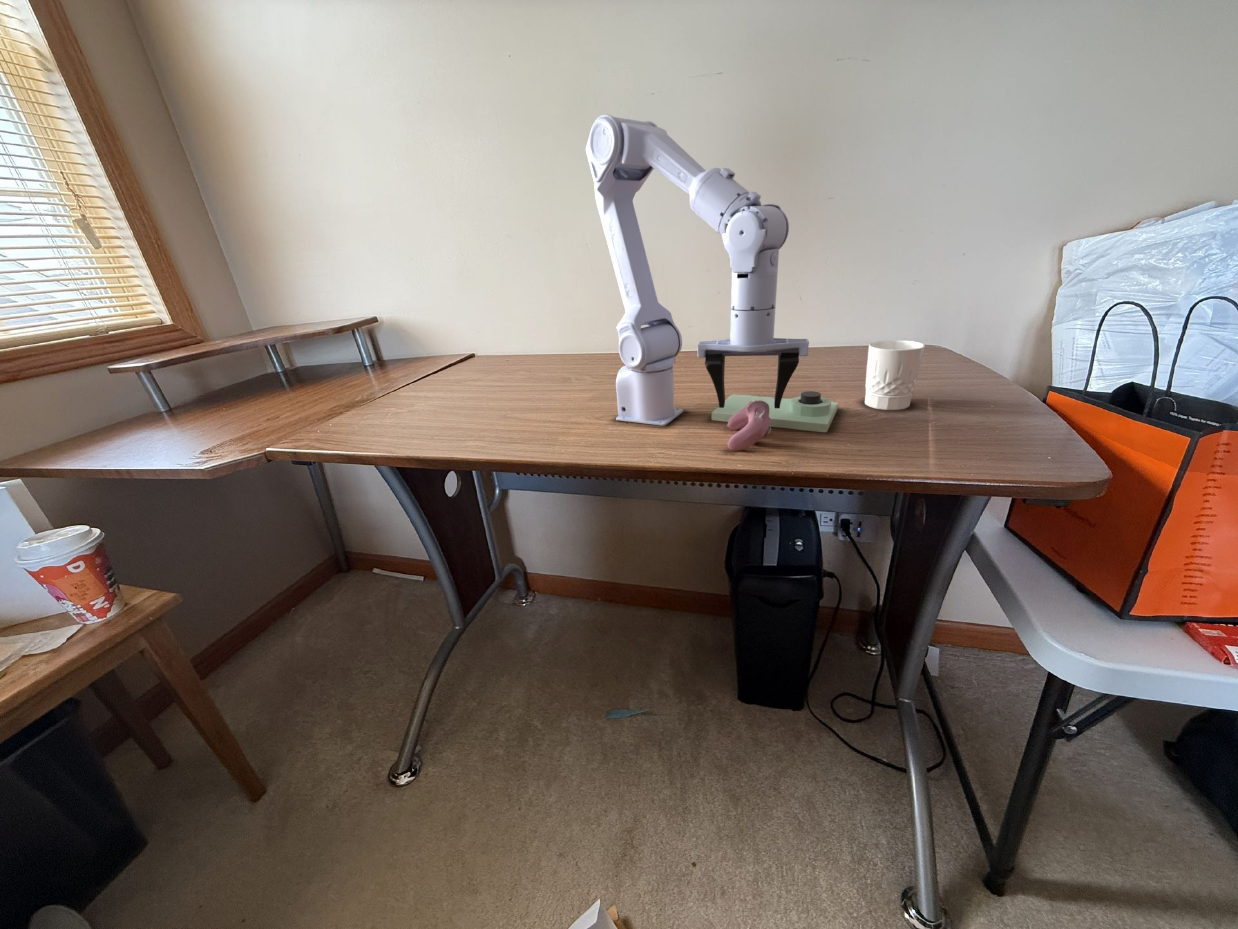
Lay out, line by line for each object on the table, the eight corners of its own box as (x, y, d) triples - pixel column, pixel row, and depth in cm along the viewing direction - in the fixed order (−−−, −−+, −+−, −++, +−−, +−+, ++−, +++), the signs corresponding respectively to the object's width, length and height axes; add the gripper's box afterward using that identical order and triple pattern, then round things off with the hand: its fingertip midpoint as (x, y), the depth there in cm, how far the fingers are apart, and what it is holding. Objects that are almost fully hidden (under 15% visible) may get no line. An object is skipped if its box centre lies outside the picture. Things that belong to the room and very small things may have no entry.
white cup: (923, 410, 77) (936, 347, 73) (873, 413, 77) (883, 351, 73) (898, 396, 84) (908, 338, 80) (852, 399, 84) (860, 342, 80)
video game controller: (754, 463, 67) (780, 421, 64) (724, 449, 67) (749, 406, 64) (750, 437, 76) (773, 399, 73) (724, 425, 76) (746, 386, 73)
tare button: (798, 405, 76) (799, 395, 75) (802, 399, 78) (803, 390, 77) (818, 406, 74) (819, 397, 74) (821, 401, 77) (822, 391, 76)
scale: (711, 420, 80) (711, 403, 79) (731, 401, 88) (732, 385, 87) (826, 433, 71) (828, 414, 70) (837, 410, 80) (839, 393, 79)
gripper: (808, 301, 65) (800, 398, 70) (701, 306, 69) (701, 397, 74) (813, 308, 59) (803, 413, 64) (695, 313, 63) (695, 412, 68)
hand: (749, 406), depth 69 cm, fingers open, 7 cm apart
